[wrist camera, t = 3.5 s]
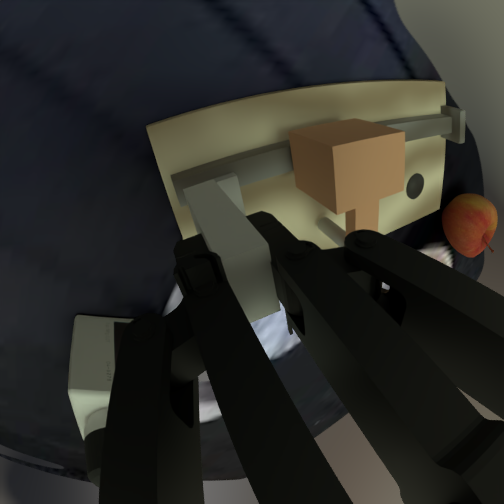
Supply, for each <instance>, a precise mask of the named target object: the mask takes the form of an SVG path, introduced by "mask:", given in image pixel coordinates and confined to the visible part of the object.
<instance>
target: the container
mask: <svg viewBox="0 0 504 504" xmlns="http://www.w3.org/2000/svg"><path fill="white" fill-rule="evenodd" d="M132 320H133V319H124V318H110V317H97V316H85V315H77V316H76V317H75V320H74V328H73V335H72V344H71V354H70V366H69V381H68V394H69V397H70V401H71V404H72V407H73V411H74V414H75V417H76V420H77V423H78V426H79V429H80V432H81V435H82V437H83V439H84V444H85V455H86V465H87V473H88V478H89V479H90V480H91V481H92V483H94V484H95V485H96V486H98V487H99V488H100V473H101V461H102V451H103V442H104V434H105V426H106V419H107V412H108V406H109V399H110V393H111V388H112V382H113V377H114V372H115V366H116V362H117V357H118V352H119V347H120V343H121V338H122V334H123V332H124V330H125V327H126V326H127V325H128V324H129V323H130V322H131V321H132Z"/></svg>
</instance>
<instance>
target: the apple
mask: <svg viewBox="0 0 504 504" xmlns="http://www.w3.org/2000/svg"><path fill="white" fill-rule="evenodd" d="M442 225H443V229H444V232H445V235H446V237H447V239H448V240H449V242H450V244H451V245H452V246H453V247H454V248H455V249H456V250H457V251H458V252H459V253H461V254H463V255H465V256H467V257H475V256H476V255H478V254H479V253H481V252H482V251H483V250H484V248H485V247H486V246H488V247H489V245H488V243H489V242H490V240H491V239H492V237H493V235H494V232H495V229H496V226H497V211H496V209H495V207H494V206H493V204H492V203H491V202H490V201H488V200H487V199H485V198H484V197H482V196H480V195H477V194H461V195H458V196H457V197H455V198H454V199H453V200H452V201H451V202H450V203H449V204H448V205H447V206H446V207H445V209H444V210H443V212H442ZM489 249H490V250H491V251H492V252H494V250H492V249H491V248H490V247H489Z"/></svg>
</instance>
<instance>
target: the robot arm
mask: <svg viewBox="0 0 504 504" xmlns="http://www.w3.org/2000/svg"><path fill="white" fill-rule="evenodd" d="M183 191H184V194H185V197H186V200H187V204H188V207H189V210H190V213H191V216H192V219H193V222H194V225H195V228H196V231H197V235H195V236H192V237H189V238H187V239H184V240H181V241H178V242H177V243H176V246H175V248H174V254H175V258H176V262H177V265H176V266H175V268H174V274H173V275H174V277H175V279H176V281H177V284H178V286H179V288H180V290H181V293H182V295H183V299H182V301H181V303H180V304H179V305H178V307H177V308H176V309H174V310H173V311H172V312H171V313H169V314H168V315H166V316H165V317H162V316H161V315H158V314H155V313H146V314H143V315H140V316H138V317H136V318H135V319H133V320H132V321H131V322H130V323H129V324H128V325H127V326H126V327H125V330H124V332H123V334H122V338H121V343H120V347H119V352H118V357H117V362H116V366H115V372H114V377H113V382H112V388H111V393H110V399H109V406H108V412H107V419H106V426H105V434H104V442H103V451H102V461H101V473H100V488H99V504H204V493H203V478H202V463H201V445H200V421H199V382H198V376H199V375H200V374H201V373H203V372H204V371H207V374H208V377H209V380H210V383H211V386H212V389H213V392H214V395H215V397H216V400H217V403H218V406H219V408H220V411H221V414H222V416H223V419H224V422H225V424H226V427H227V430H228V432H229V435H230V437H231V440H232V442H233V445H234V447H235V450H236V452H237V455H238V457H239V459H240V462H241V464H242V466H243V469H244V471H245V473H246V476H247V478H248V480H249V482H250V485H251V487H252V489H253V491H254V494H255V496H256V498H257V500H258V502H259V504H353V502H352V501H351V499H350V498H349V496H348V494H347V493H346V491H345V490H344V488H343V486H342V485H341V483H340V481H339V480H338V478H337V477H336V475H335V473H334V472H333V470H332V468H331V467H330V465H329V463H328V462H327V460H326V458H325V457H324V455H323V453H322V452H321V450H320V448H319V446H318V445H317V443H316V441H315V440H314V438H313V436H312V435H311V433H310V431H309V429H308V428H307V426H306V424H305V422H304V421H303V419H302V417H301V415H300V414H299V412H298V410H297V408H296V407H295V405H294V403H293V401H292V400H291V398H290V396H289V394H288V392H287V391H286V389H285V387H284V385H283V383H282V382H281V380H280V378H279V376H278V374H277V373H276V371H275V369H274V367H273V365H272V363H271V362H270V360H269V358H268V356H267V354H266V352H265V351H264V349H263V347H262V345H261V343H260V341H259V339H258V337H257V336H256V334H255V332H254V330H253V328H252V326H251V324H250V323H251V322H254V321H256V320H259V319H261V318H263V317H266V316H268V315H270V314H273V313H275V312H278V311H280V310H281V309H280V303H279V300H280V302H281V303H282V305H283V306H284V308H285V313H286V319H287V325H288V330H289V333H290V335H291V334H293V330H292V328H293V329H294V331H295V332H296V334H297V335H298V337H299V338H300V340H301V341H302V343H303V344H304V346H305V347H306V349H307V350H308V352H309V353H310V355H311V356H312V358H313V359H314V361H315V362H316V364H317V365H318V367H319V368H320V370H321V371H322V373H323V374H324V376H325V377H326V379H327V380H328V382H329V383H330V385H331V386H332V388H333V389H334V391H335V392H336V394H337V395H338V397H339V398H340V400H341V401H342V403H343V404H344V406H345V407H346V409H347V410H348V412H349V413H350V414H351V416H352V418H353V419H354V421H355V422H356V423H357V425H358V427H359V428H360V429H361V431H362V432H363V434H364V435H365V437H366V438H367V440H368V441H369V443H370V444H371V446H372V447H373V449H374V450H375V452H376V453H377V455H378V456H379V457H380V459H381V460H382V462H383V463H384V465H385V466H386V468H387V469H388V471H389V472H390V474H391V475H392V477H393V478H394V479H395V481H396V482H397V484H398V486H399V488H400V495H401V498H402V501H403V502H404V504H504V421H501V420H488V419H486V418H484V417H483V416H482V415H480V413H479V412H478V411H477V410H476V409H475V407H474V406H473V405H472V404H471V403H470V402H469V401H468V399H467V398H466V397H465V396H464V395H463V394H462V393H461V392H460V390H459V389H461V390H462V391H463V392H465V393H466V394H468V395H469V396H471V397H472V398H474V399H475V400H477V401H478V402H479V403H481V404H482V405H484V406H485V407H486V408H488V409H489V410H491V411H492V412H493V413H495V414H496V415H498V416H499V417H501V418H502V419H504V297H503V296H502V295H500V294H498V293H497V292H495V291H493V290H491V289H489V288H488V287H486V286H484V285H482V284H481V283H479V282H477V281H475V280H473V279H471V278H470V277H468V276H466V275H464V274H462V273H460V272H458V271H457V270H455V269H453V268H451V267H449V266H447V265H445V264H443V263H441V262H439V261H437V260H435V259H433V258H431V257H429V256H427V255H425V254H423V253H421V252H419V251H417V250H415V249H413V248H411V247H409V246H407V245H405V244H403V243H400V242H398V241H396V240H394V239H392V238H390V237H388V236H385V235H383V234H381V233H379V232H376V231H373V230H366V229H361V230H355V231H353V232H351V233H349V234H348V235H347V236H346V237H345V240H344V246H343V247H337V248H331V249H321V248H320V247H319V246H318V245H316V244H314V243H313V242H310V241H306V240H298V239H297V238H296V237H295V236H294V235H293V234H292V233H291V232H290V231H289V230H288V229H287V228H286V227H285V226H283V224H282V223H281V222H279V221H278V220H277V219H276V218H275V217H274V216H273V215H272V214H270V213H267V212H264V211H259V212H256V213H253V214H250V215H248V216H244V214H243V213H242V212H241V211H240V210H239V209H238V207H237V206H236V205H235V204H234V203H233V202H232V200H231V199H230V198H229V197H228V196H227V195H226V193H225V192H224V191H223V190H222V189H221V188H220V186H219V185H218V184H217V183H216V182H215V181H214V179H212V180H209V181H206V182H203V183H200V184H197V185H194V186H191V187H188V188H186V189H183ZM382 282H384V283H385V284H387V285H389V286H390V289H389V290H386V289H384V288H382ZM457 387H458V388H459V389H458V388H457Z"/></svg>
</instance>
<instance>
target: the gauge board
mask: <svg viewBox="0 0 504 504" xmlns="http://www.w3.org/2000/svg"><path fill="white" fill-rule="evenodd" d="M353 118H357V119H361V120H365V121H369V122H373V123H377V124H381V125H384V126H388V127H391V128H395V129H398V130H402V131H405V176H404V191H401V192H399V193H396V194H393V195H391V196H388V197H385V198H382V199H380V200H379V220H378V232H379V233H381V234H383V235H385V234H387V233H389V232H391V231H394V230H396V229H398V228H400V227H402V226H404V225H407V224H409V223H411V222H413V221H415V220H417V219H419V218H421V217H424V216H426V215H428V214H430V213H432V212H434V211H436V210H438V209H440V201H441V193H442V184H443V173H444V160H445V140H446V139H448V140H451V141H454V142H456V143H459V144H460V143H464V140H465V110H462V109H458V108H454V107H450V106H447V105H446V96H445V82H442V81H437V80H371V81H354V82H342V83H332V84H322V85H314V86H307V87H300V88H293V89H287V90H281V91H275V92H269V93H264V94H259V95H254V96H249V97H245V98H240V99H236V100H231V101H227V102H223V103H219V104H215V105H211V106H208V107H204V108H200V109H197V110H193V111H190V112H186V113H183V114H180V115H176V116H173V117H170V118H167V119H164V120H161V121H158V122H155V123H152V124H149V125H146V128H147V132H148V135H149V138H150V142H151V145H152V148H153V151H154V155H155V158H156V161H157V164H158V167H159V170H160V173H161V176H162V179H163V182H164V185H165V188H166V191H167V194H168V197H169V200H170V203H171V206H172V209H173V212H174V214H175V217H176V220H177V223H178V226H179V228H180V231H181V234H182V237H183V239H187V238H189V237H192V236H195V235H197V231H196V228H195V225H194V222H193V219H192V216H191V213H190V210H189V207H188V204H187V200H186V197H185V194H184V191H183V189H186V188H188V187H191V186H194V185H197V184H200V183H203V182H206V181H209V180H212V179H214V181H215V182H216V183H217V184H218V185H219V186H220V188H221V189H222V190H223V191H224V192H225V193H226V195H227V196H228V197H229V198H230V199H231V200H232V202H233V203H234V204H235V205H236V206H237V207H238V209H239V210H240V211H241V212H242V213H243V214H244V216H248V215H250V214H253V213H256V212H259V211H264V212H267V213H270V214H272V215H273V216H274V217H275V218H276V219H277V220H278V221H279V222H281V223H282V224H283V226H285V227H286V228H287V229H288V230H289V231H290V232H291V233H292V234H293V235H294V236H295V237H296V238H297V239H298V240H306V241H310V242H313V243H314V244H316V245H318V246H319V247H320V248H321V249H331V248H337V247H339V246H338V245H337V244H336V243H335V242H334V241H332V240H331V239H330V238H329V237H328V236H327V235H325V234H324V233H323V232H322V231H321V230H319V229H318V222H319V220H320V219H321V218H323V217H327V218H329V219H330V220H332V221H333V222H334V223H336V224H337V225H338V226H339V227H341V228H342V229H343V230H345V231H346V224H345V213H342V214H339V215H336V214H334V213H333V212H332V211H330V210H329V209H327V208H326V207H324V206H323V205H322V204H320V203H319V202H317V201H316V200H314V199H313V198H311V197H310V196H309V195H307V194H306V193H304V192H303V191H301V190H300V189H298V188H297V187H296V183H295V175H294V168H293V161H292V154H291V147H290V141H289V134H288V131H292V130H297V129H301V128H306V127H310V126H315V125H320V124H325V123H331V122H336V121H341V120H347V119H353Z"/></svg>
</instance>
